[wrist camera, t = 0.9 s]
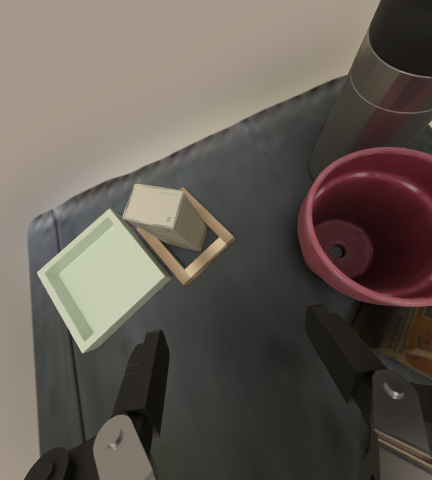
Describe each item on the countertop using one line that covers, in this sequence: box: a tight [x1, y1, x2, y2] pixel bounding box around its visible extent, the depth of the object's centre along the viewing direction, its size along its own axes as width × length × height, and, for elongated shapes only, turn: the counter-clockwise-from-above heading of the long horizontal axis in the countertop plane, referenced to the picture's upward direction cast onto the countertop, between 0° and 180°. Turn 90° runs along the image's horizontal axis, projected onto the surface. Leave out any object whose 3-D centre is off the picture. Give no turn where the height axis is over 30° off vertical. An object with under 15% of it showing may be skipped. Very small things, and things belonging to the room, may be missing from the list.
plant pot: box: [297, 147, 432, 307], centre depth 23 cm, size 14×14×13 cm
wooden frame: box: [137, 187, 235, 285], centre depth 32 cm, size 10×12×2 cm
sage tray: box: [37, 209, 172, 353], centre depth 32 cm, size 15×15×3 cm
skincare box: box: [123, 184, 208, 252], centre depth 27 cm, size 6×4×12 cm
